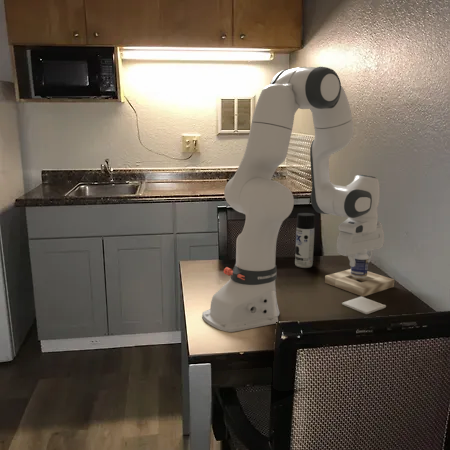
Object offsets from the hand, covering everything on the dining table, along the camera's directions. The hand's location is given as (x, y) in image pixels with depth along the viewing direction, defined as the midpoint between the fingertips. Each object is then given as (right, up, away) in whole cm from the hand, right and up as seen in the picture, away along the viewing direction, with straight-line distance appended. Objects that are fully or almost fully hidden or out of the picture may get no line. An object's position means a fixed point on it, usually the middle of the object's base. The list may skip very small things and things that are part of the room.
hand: (359, 264), depth 158 cm
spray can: (-15, -2, +22) cm, 27 cm away
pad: (-3, -11, -17) cm, 20 cm away
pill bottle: (0, -4, +1) cm, 4 cm away
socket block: (0, -7, +2) cm, 7 cm away
